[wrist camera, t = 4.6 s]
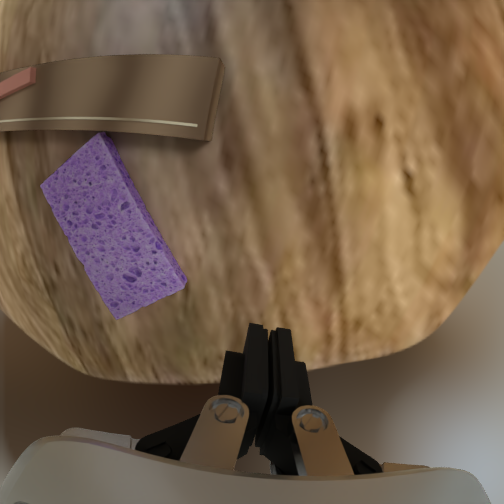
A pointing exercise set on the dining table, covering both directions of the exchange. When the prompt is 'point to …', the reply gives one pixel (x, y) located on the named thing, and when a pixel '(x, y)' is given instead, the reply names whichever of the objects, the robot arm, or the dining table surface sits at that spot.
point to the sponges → (111, 229)
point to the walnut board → (119, 95)
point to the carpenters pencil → (17, 82)
